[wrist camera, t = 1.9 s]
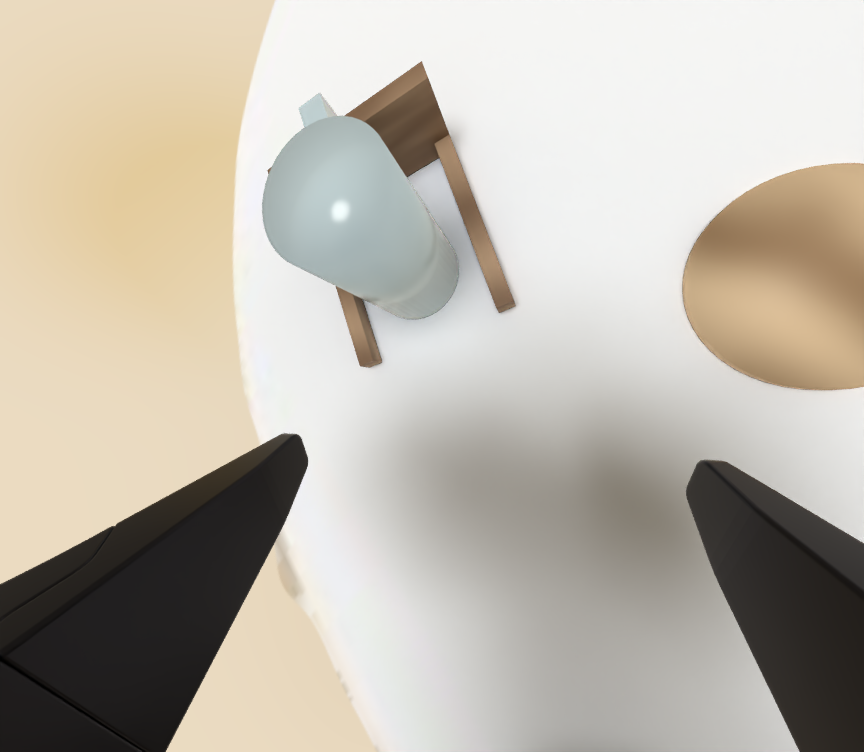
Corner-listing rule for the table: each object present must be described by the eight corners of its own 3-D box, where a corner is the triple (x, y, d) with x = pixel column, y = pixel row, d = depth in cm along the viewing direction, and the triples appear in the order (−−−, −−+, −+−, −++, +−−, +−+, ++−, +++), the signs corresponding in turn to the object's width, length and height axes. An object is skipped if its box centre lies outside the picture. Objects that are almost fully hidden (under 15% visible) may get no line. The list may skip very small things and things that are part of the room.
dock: (515, 306, 19) (506, 278, 15) (369, 367, 22) (322, 361, 17) (449, 135, 21) (421, 61, 16) (322, 213, 24) (267, 170, 19)
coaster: (908, 425, 14) (920, 427, 13) (649, 346, 17) (652, 345, 16) (1027, 192, 13) (1046, 185, 13) (732, 155, 16) (738, 147, 16)
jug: (471, 297, 20) (412, 222, 11) (390, 333, 22) (282, 294, 13) (427, 176, 21) (342, 22, 12) (353, 219, 23) (232, 111, 14)
